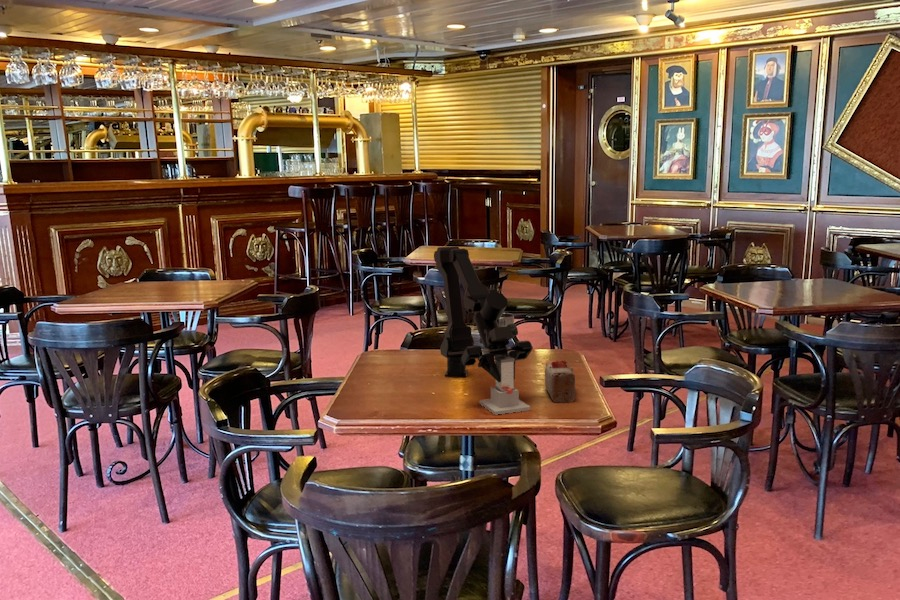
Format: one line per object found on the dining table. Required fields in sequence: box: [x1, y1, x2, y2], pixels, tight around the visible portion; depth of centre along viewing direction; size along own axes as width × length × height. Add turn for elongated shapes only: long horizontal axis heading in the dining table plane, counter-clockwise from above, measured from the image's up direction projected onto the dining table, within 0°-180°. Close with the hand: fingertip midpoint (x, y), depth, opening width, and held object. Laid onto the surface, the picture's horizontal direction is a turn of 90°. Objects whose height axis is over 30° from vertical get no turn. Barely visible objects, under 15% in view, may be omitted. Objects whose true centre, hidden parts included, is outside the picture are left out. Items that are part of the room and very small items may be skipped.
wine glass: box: [494, 312, 515, 361], centre depth 236 cm, size 8×8×15 cm
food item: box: [544, 360, 576, 403], centre depth 198 cm, size 14×8×10 cm, turn 2°
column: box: [494, 355, 516, 392], centre depth 188 cm, size 4×4×12 cm
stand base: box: [478, 386, 531, 416], centre depth 188 cm, size 10×10×6 cm
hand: (506, 380), depth 186 cm, fingers closed on column, 3 cm apart
